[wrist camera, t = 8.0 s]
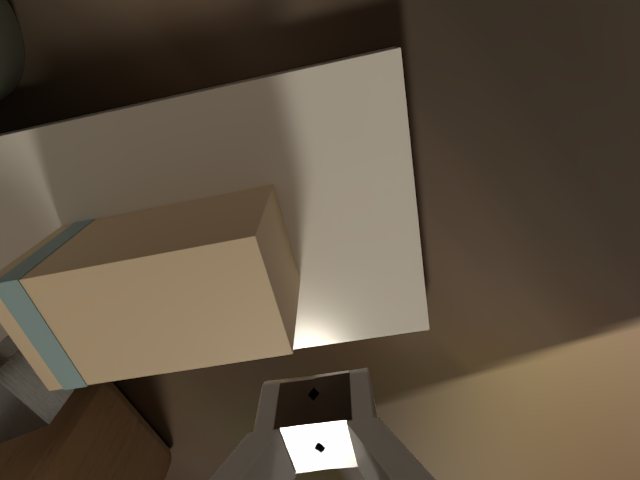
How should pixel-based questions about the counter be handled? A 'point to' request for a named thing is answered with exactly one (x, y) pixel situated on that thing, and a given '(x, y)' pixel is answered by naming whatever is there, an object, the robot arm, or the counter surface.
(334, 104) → the white tray
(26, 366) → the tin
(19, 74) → the sage green capsule
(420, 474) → the robot arm
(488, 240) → the counter surface
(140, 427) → the wooden block
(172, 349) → the carton
